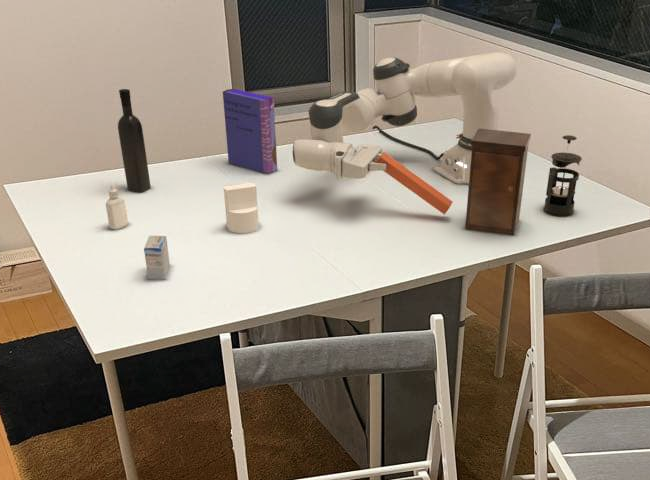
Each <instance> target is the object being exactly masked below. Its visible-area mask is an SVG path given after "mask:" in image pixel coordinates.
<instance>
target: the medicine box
mask: <svg viewBox="0 0 650 480" xmlns="http://www.w3.org/2000/svg"><path fill="white" fill-rule="evenodd" d="M168 247H169V245H168V239H167V236H166V235H149V236H148V238H147V240H146V242H145V245H144V248H143V253H144V260H145V266H146V274H147V278H148V280H166V278H167V275H168V272H169V269H170V267H171V266H170V265H171V264H170V256H169V248H168Z"/></svg>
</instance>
